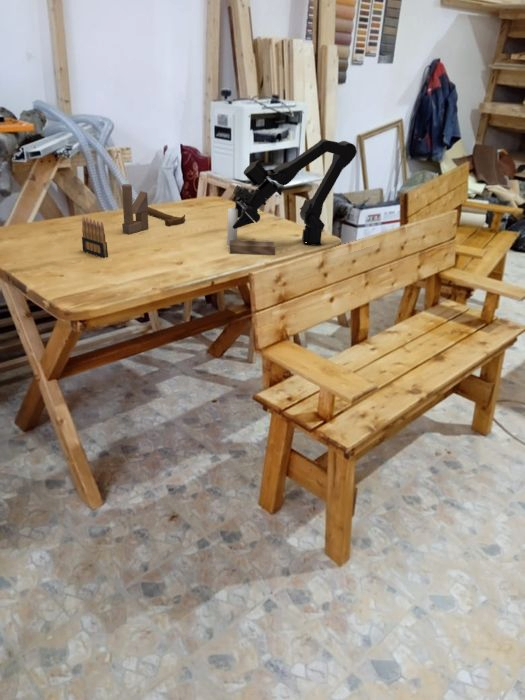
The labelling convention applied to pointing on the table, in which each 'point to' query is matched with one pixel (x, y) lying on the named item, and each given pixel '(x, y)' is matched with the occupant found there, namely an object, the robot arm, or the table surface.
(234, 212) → the dowel
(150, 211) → the hammer
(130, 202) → the brown wooden bracket
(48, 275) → the table surface
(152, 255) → the table surface
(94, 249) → the ammunition clip
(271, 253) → the beam
